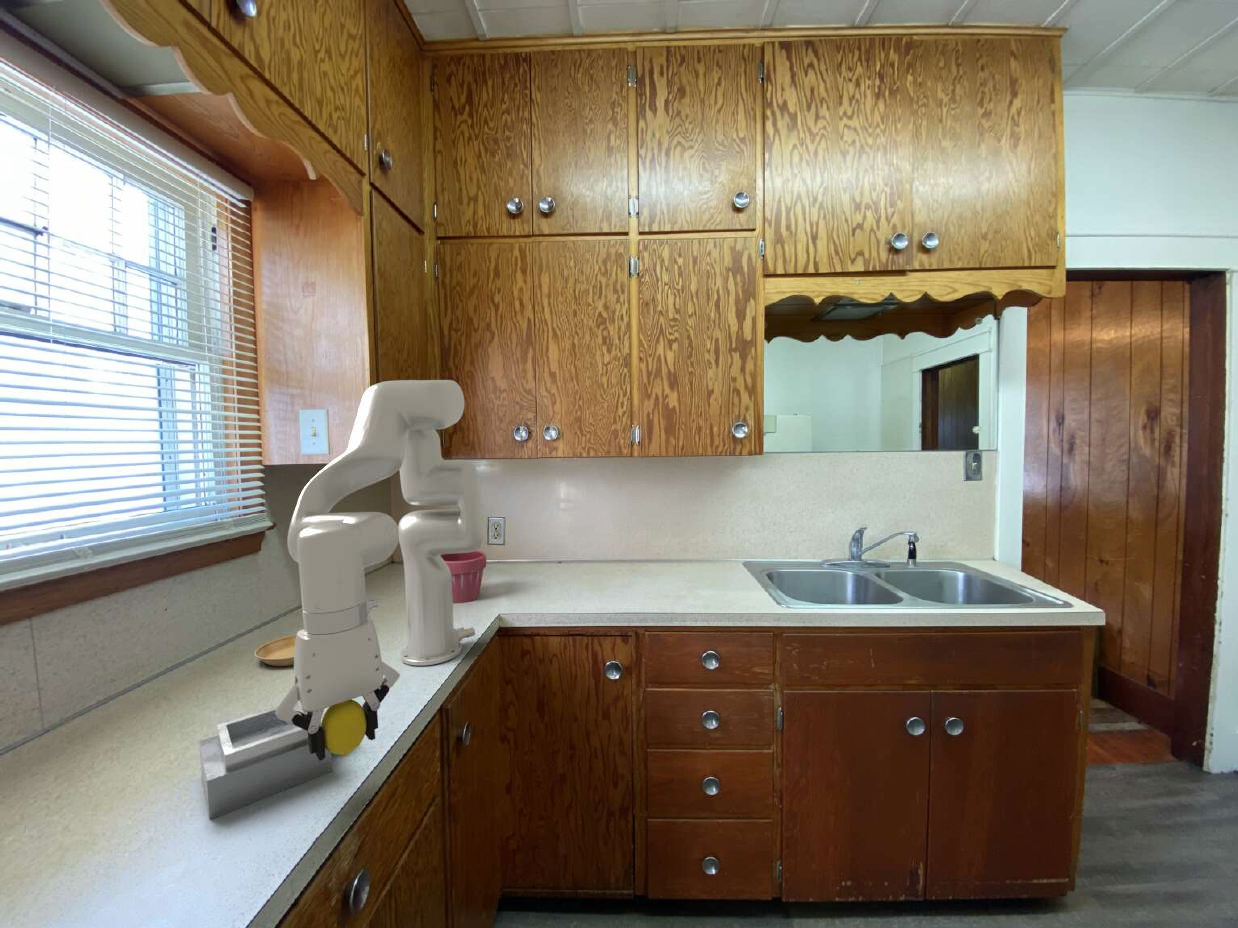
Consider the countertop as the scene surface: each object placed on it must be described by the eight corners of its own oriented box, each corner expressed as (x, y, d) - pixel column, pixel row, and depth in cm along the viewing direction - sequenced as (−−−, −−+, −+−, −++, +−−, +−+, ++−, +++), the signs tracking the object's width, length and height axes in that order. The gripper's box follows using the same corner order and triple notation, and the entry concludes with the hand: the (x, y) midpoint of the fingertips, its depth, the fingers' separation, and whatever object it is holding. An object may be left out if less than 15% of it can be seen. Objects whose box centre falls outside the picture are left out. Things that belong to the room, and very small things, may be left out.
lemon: (350, 770, 70) (346, 711, 69) (313, 765, 71) (308, 708, 70) (376, 744, 75) (373, 689, 74) (341, 740, 76) (337, 686, 75)
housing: (332, 729, 87) (330, 687, 87) (354, 761, 78) (352, 715, 78) (201, 775, 76) (198, 727, 76) (209, 819, 67) (205, 765, 67)
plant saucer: (265, 649, 122) (264, 638, 122) (337, 639, 127) (337, 628, 127) (246, 676, 108) (245, 663, 108) (328, 663, 114) (327, 651, 113)
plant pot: (485, 604, 151) (483, 559, 150) (433, 607, 148) (431, 562, 148) (489, 589, 165) (488, 548, 164) (442, 592, 163) (440, 551, 162)
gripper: (392, 594, 79) (399, 709, 81) (253, 626, 68) (265, 760, 70) (411, 607, 74) (418, 731, 76) (264, 645, 62) (276, 789, 64)
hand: (345, 743), depth 73 cm, fingers closed on lemon, 5 cm apart
